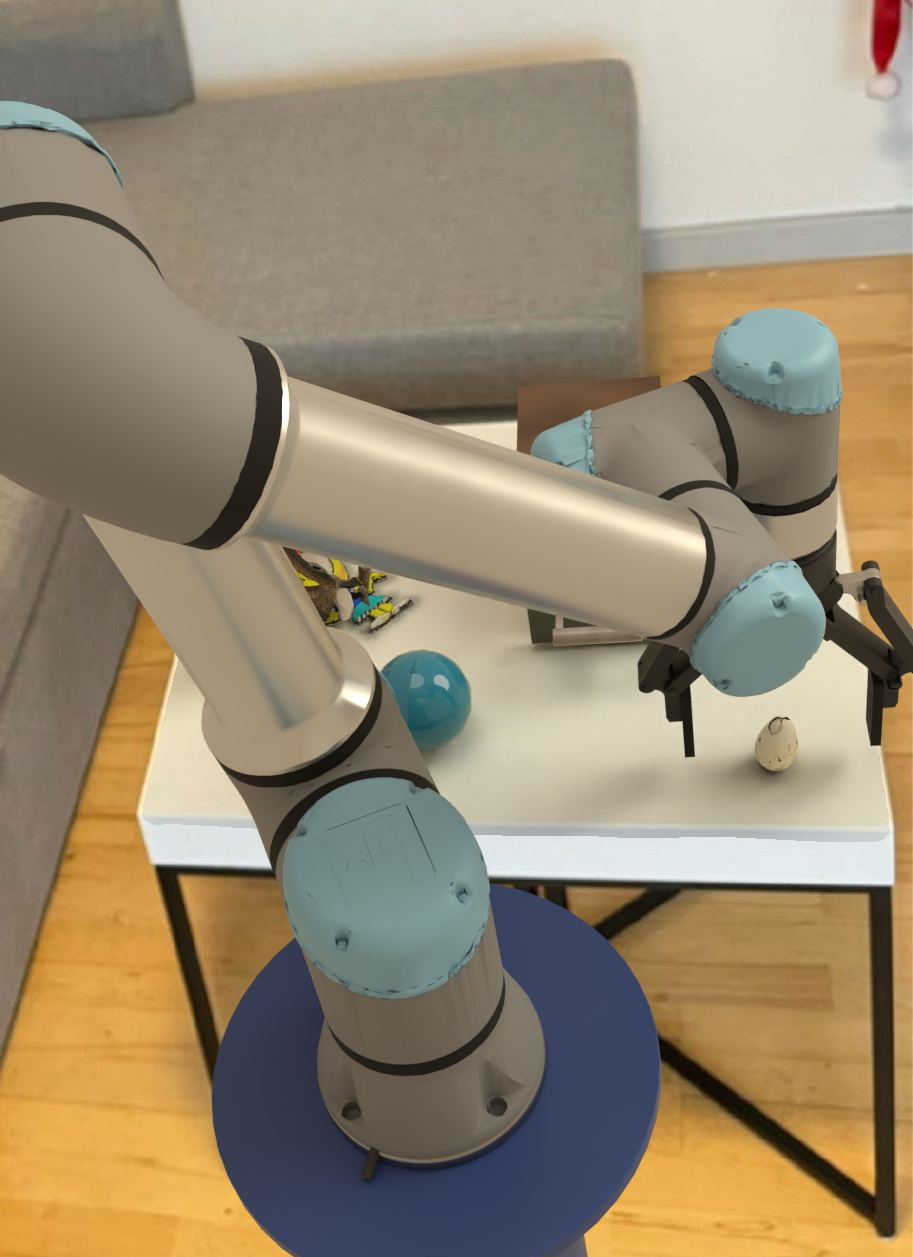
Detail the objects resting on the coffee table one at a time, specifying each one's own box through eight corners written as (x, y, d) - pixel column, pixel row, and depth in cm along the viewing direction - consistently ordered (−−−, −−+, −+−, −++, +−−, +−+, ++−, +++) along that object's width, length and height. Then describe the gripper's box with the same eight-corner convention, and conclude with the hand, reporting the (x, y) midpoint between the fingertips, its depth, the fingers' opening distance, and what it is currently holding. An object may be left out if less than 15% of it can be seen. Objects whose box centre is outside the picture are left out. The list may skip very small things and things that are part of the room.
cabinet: (672, 567, 143) (668, 481, 136) (526, 576, 145) (515, 492, 138) (664, 459, 153) (660, 375, 147) (528, 469, 155) (518, 386, 148)
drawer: (673, 679, 133) (669, 609, 127) (531, 687, 134) (521, 619, 129) (662, 526, 146) (658, 457, 140) (533, 535, 147) (524, 467, 142)
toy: (330, 656, 140) (224, 578, 148) (332, 663, 140) (226, 585, 149) (419, 591, 144) (311, 518, 152) (421, 598, 144) (313, 525, 153)
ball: (486, 700, 135) (474, 630, 129) (467, 775, 129) (454, 706, 124) (391, 694, 137) (375, 625, 131) (369, 769, 131) (351, 700, 126)
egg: (753, 749, 128) (752, 705, 124) (795, 747, 127) (796, 703, 124) (756, 781, 125) (756, 737, 122) (799, 779, 125) (801, 735, 121)
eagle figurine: (377, 540, 144) (274, 531, 145) (371, 547, 137) (263, 536, 137) (369, 627, 145) (267, 617, 146) (363, 638, 138) (256, 627, 138)
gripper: (963, 474, 110) (943, 689, 125) (588, 504, 114) (612, 711, 129) (983, 550, 105) (960, 766, 120) (590, 580, 108) (614, 786, 123)
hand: (780, 738), depth 124 cm, fingers open, 13 cm apart
